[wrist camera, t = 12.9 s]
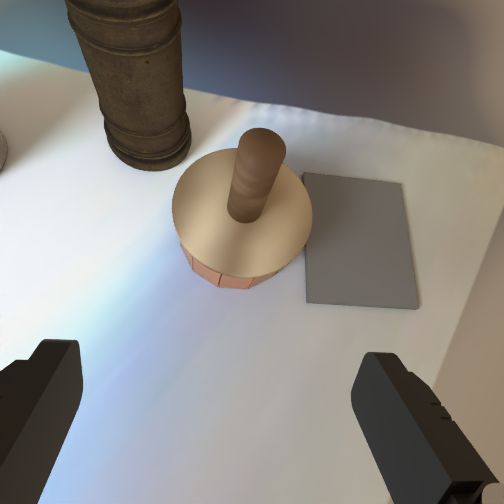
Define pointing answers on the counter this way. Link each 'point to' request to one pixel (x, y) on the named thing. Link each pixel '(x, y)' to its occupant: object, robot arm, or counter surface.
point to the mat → (358, 244)
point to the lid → (243, 208)
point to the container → (136, 77)
